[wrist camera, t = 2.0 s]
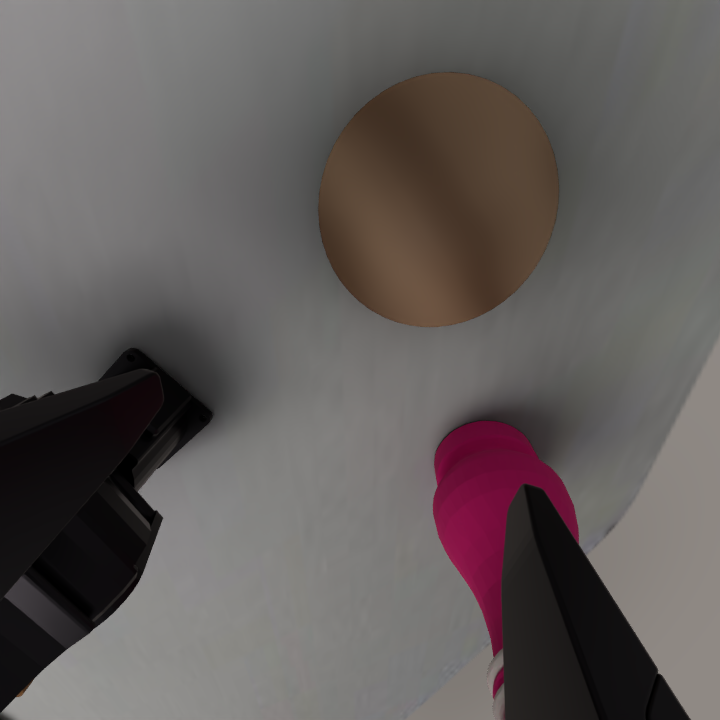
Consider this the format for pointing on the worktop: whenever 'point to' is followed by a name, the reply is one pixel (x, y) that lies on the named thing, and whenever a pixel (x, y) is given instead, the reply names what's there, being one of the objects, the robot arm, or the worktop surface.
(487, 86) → the walnut base
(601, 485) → the worktop surface
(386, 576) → the worktop surface
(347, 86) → the worktop surface
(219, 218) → the worktop surface
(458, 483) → the pepper mill
